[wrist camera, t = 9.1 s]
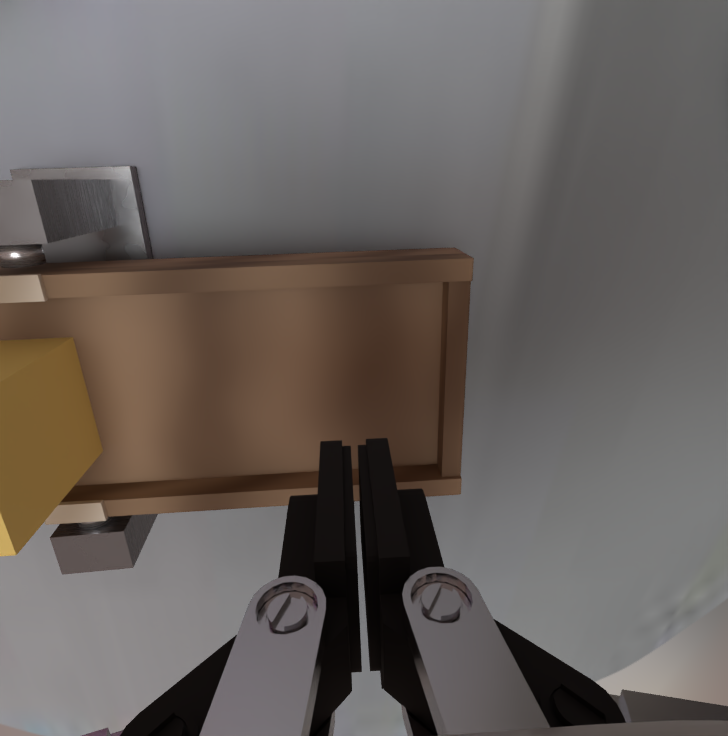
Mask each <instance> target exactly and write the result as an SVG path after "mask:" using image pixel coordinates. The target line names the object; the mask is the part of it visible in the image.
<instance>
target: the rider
mask: <svg viewBox="0 0 728 736" xmlns="http://www.w3.org/2000/svg"><path fill="white" fill-rule="evenodd" d="M102 452H103V449H102V445H101V441H100V437H99V434H98V430H97V426H96V422H95V419H94V415H93V411H92V407H91V404H90V400H89V396H88V392H87V388H86V385H85V381H84V377H83V373H82V370H81V366H80V362H79V358H78V355H77V351H76V347H75V343H74V340H73V337H67V338H46V339H25V340H4V341H0V556H11V555H17V554H18V553H19V551H20V550H21V549H22V548H23V547H24V545H25V544H26V543H27V542H28V541H29V539H30V538H31V537H32V536H33V535H34V533H35V532H36V531H37V530H38V529H39V527H40V526H41V525H42V524H43V523H44V521H45V520H46V519H47V518H48V517H49V515H50V514H51V513H52V512H53V511H54V509H55V508H56V507H57V506H58V505H59V503H60V502H61V501H62V500H63V499H64V497H65V496H66V495H67V494H68V493H69V491H70V490H71V489H72V488H73V487H74V485H75V484H76V483H77V482H78V481H79V479H80V478H81V477H82V476H83V475H84V473H85V472H86V471H87V470H88V469H89V467H90V466H91V465H92V464H93V463H94V461H95V460H96V459H97V458H98V457H99V455H100V454H101V453H102Z"/></svg>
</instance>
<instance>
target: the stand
mask: <svg viewBox="0 0 728 736" xmlns="http://www.w3.org/2000/svg"><path fill="white" fill-rule="evenodd" d="M10 172H11V176H12V179H13V180H1V181H0V268H22V267H31V266H37V265H42V264H45V263H64V262H90V261H116V260H142V259H153V256H152V251H151V246H150V240H149V235H148V230H147V224H146V219H145V214H144V208H143V203H142V198H141V192H140V187H139V182H138V176H137V171H136V167H132V166H125V167H89V168H53V169H17V170H10ZM157 515H158V514H142V515H126V516H111V517H108V518H107V520H106V521H96V522H80V523H64V524H60V525H59V526H58V527H57V529H56V530H55V532H54V533H53V534H52V536H51V537H50V540H51V542H52V545H53V548H54V551H55V554H56V557H57V560H58V563H59V566H60V569H61V572H62V574H72V573H83V572H93V571H104V570H114V569H125V568H133V567H134V565H135V563H136V561H137V558H138V556H139V554H140V552H141V550H142V547H143V545H144V543H145V541H146V539H147V536H148V534H149V532H150V530H151V528H152V526H153V523H154V521H155V519H156V517H157Z"/></svg>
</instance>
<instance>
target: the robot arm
mask: <svg viewBox="0 0 728 736" xmlns="http://www.w3.org/2000/svg"><path fill="white" fill-rule="evenodd" d="M358 470H359V497H360V524H361V545H362V559H363V574H364V589H365V603H366V618H367V632H368V647H369V661H370V671H379V670H380V673H381V685H382V689H383V688H384V690H385V691H386V692H387V693H389V694H390V695H391V696H392V697H393V698H394V699H396V700H397V701H398V702H399V703H400V704H401V705H402V714H403V720H404V724H405V727H406V731H407V735H408V736H728V706H723V705H717V704H710V703H704V702H698V701H691V700H685V699H679V698H673V697H666V696H660V695H654V694H647V693H641V692H635V691H628V690H622V692H621V695H620V696H617V695H611V694H608V693H607V692H606V690H604V689H603V688H602V687H600V686H599V685H598V684H597V683H595V682H594V681H593V680H591V679H590V678H588V677H586V676H585V675H583V674H582V673H580V672H578V671H577V670H575V669H574V668H572V667H570V666H569V665H567V664H565V663H564V662H562V661H561V660H559V659H557V658H556V657H554V656H553V655H551V654H549V653H548V652H546V651H545V650H543V649H541V648H540V647H538V646H536V645H535V644H533V643H532V642H530V641H528V640H527V639H525V638H524V637H522V636H520V635H519V634H517V633H516V632H514V631H512V630H511V629H509V628H507V627H506V626H504V625H503V624H501V623H499V622H498V621H496V620H495V619H493V617H492V615H491V613H490V612H489V610H488V608H487V606H486V604H485V602H484V600H483V598H482V596H481V594H480V592H479V591H478V589H477V588H476V586H475V585H474V583H473V582H472V581H471V580H470V579H469V578H467V577H466V576H465V575H464V574H462V573H460V572H458V571H456V570H453V569H450V568H445V567H444V564H443V561H442V557H441V553H440V549H439V546H438V542H437V538H436V535H435V531H434V527H433V524H432V520H431V516H430V513H429V509H428V505H427V501H426V498H425V494H424V491H423V489H422V488H420V489H402V490H397V485H396V480H395V475H394V470H393V464H392V459H391V454H390V449H389V443H388V439H387V438H374V439H366V445H358ZM351 672H362V666H361V643H360V619H359V595H358V572H357V551H356V532H355V514H354V496H353V478H352V459H351V446H342V440H336V441H321V442H320V458H319V476H318V494H313V495H295V496H290V499H289V505H288V512H287V519H286V526H285V534H284V541H283V548H282V555H281V563H280V570H279V577H278V578H277V579H274V580H272V581H270V582H269V583H267V584H265V585H263V586H262V587H261V588H260V589H259V590H258V591H257V592H256V593H255V594H254V595H253V597H252V599H251V601H250V602H249V604H248V607H247V610H246V612H245V615H244V618H243V620H242V623H241V626H240V628H239V631H238V634H237V635H236V636H235V637H233V638H232V639H231V640H230V641H228V642H227V643H226V644H225V645H223V646H222V647H221V648H220V649H218V650H217V651H216V652H215V653H213V654H212V655H211V656H210V657H208V658H207V659H206V660H205V661H204V662H202V663H201V664H200V665H199V666H197V667H196V668H195V669H194V670H192V671H191V672H190V673H189V674H187V675H186V676H185V677H184V678H182V679H181V680H180V681H179V682H177V683H176V684H175V685H174V686H172V687H171V688H170V689H169V690H168V691H166V692H165V693H164V694H163V695H161V696H160V697H159V698H158V699H156V700H155V701H154V702H153V703H151V704H150V705H149V706H148V707H146V708H145V709H144V710H143V711H141V712H140V713H139V714H138V715H137V716H136V717H135V718H134V719H133V720H132V721H131V722H130V723H129V724H128V725H127V726H126V727H125V729H124V730H122V731H119V732H116V733H112V734H110V732H109V729H108V728H105V729H102V730H98V731H95V732H92V733H89V734H85V735H82V736H333V733H334V725H335V710H336V709H337V707H338V706H339V705H340V704H341V703H342V702H343V701H344V700H345V699H346V697H347V696H348V695H349V694H350V693H351V691H352V677H351Z"/></svg>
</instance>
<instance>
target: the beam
mask: <svg viewBox="0 0 728 736" xmlns="http://www.w3.org/2000/svg"><path fill="white" fill-rule="evenodd" d="M473 259H474V258H472V257H470V256H469V255H467V254H465V253H463V252H462V251H460V250H458V249H456V248H430V249H404V250H378V251H352V252H326V253H300V254H273V255H247V256H221V257H195V258H169V259H142V260H116V261H90V262H64V263H45V264H42V265H37V266H31V267H22V268H0V341H4V340H25V339H46V338H67V337H73V340H74V343H75V347H76V351H77V355H78V358H79V362H80V366H81V370H82V373H83V377H84V381H85V385H86V388H87V392H88V396H89V400H90V404H91V407H92V411H93V415H94V419H95V422H96V426H97V430H98V434H99V437H100V441H101V445H102V449H103V452H102V453H101V454H100V455H99V457H98V458H97V459H96V460H95V461H94V463H93V464H92V465H91V466H90V467H89V469H88V470H87V471H86V472H85V473H84V475H83V476H82V477H81V478H80V479H79V481H78V482H77V483H76V484H75V485H74V487H73V488H72V489H71V490H70V491H69V493H68V494H67V495H66V496H65V497H64V499H63V500H62V501H61V502H60V503H59V505H58V506H57V507H56V508H55V509H54V511H53V512H52V513H51V514H50V515H49V517H48V518H47V519H46V520H45V524H46V525H49V524H64V523H80V522H96V521H106V520H107V518H108V517H111V516H126V515H142V514H158V513H174V512H190V511H205V510H221V509H237V508H253V507H268V506H284V505H289V499H290V496H295V495H313V494H318V476H319V458H320V442H321V441H336V440H342V446H351V459H352V478H353V496H354V501H360V497H359V470H358V445H366V439H374V438H387V439H388V443H389V449H390V454H391V459H392V464H393V470H394V475H395V480H396V485H397V490H402V489H420V488H422V489H423V491H424V494H425V497H426V496H442V495H458V494H461V476H460V473H461V454H462V435H463V417H464V398H465V379H466V360H467V342H468V323H469V304H470V285H471V281H472V277H473Z"/></svg>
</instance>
